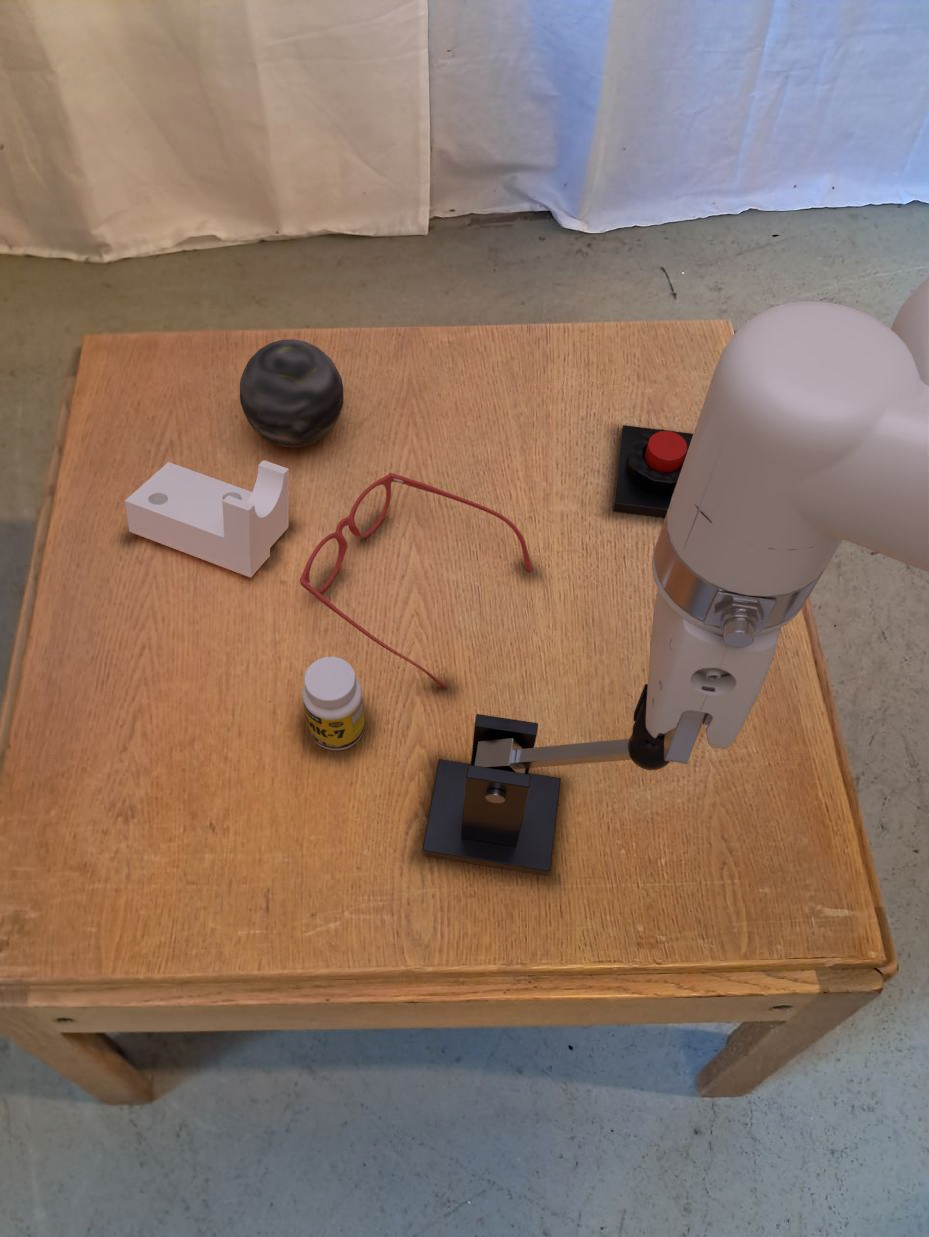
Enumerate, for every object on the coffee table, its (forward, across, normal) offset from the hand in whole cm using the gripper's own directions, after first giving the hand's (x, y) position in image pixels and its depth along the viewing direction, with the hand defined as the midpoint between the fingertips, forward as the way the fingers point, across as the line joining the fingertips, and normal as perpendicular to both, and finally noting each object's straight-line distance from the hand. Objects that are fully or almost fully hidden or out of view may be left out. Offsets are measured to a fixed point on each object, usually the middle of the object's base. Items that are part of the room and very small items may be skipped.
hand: (657, 729), depth 64 cm
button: (+16, +38, -2) cm, 41 cm away
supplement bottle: (+19, +6, +23) cm, 31 cm away
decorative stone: (+20, +38, +34) cm, 55 cm away
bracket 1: (+20, +25, +39) cm, 50 cm away
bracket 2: (+19, 0, +9) cm, 21 cm away
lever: (+7, 0, +4) cm, 8 cm away
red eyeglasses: (+19, +21, +19) cm, 34 cm away
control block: (+19, +38, -2) cm, 43 cm away
